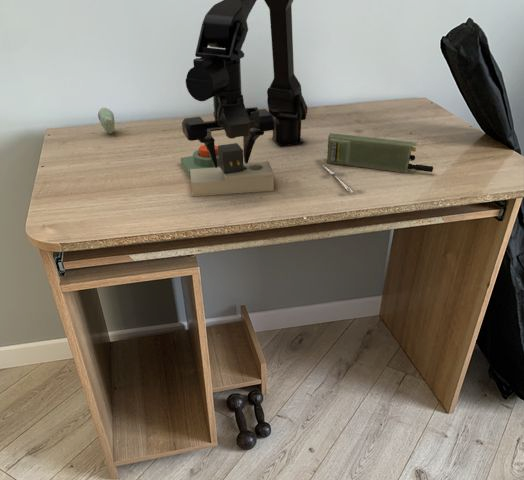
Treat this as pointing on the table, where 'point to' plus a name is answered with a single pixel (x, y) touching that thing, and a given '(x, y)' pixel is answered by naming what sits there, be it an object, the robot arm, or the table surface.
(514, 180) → the table surface
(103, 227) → the table surface
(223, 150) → the charger head
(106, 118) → the pale green oval lump
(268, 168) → the electrical outlet
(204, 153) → the switch button
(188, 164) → the switch box
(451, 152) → the table surface
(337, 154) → the handheld radio
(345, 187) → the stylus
